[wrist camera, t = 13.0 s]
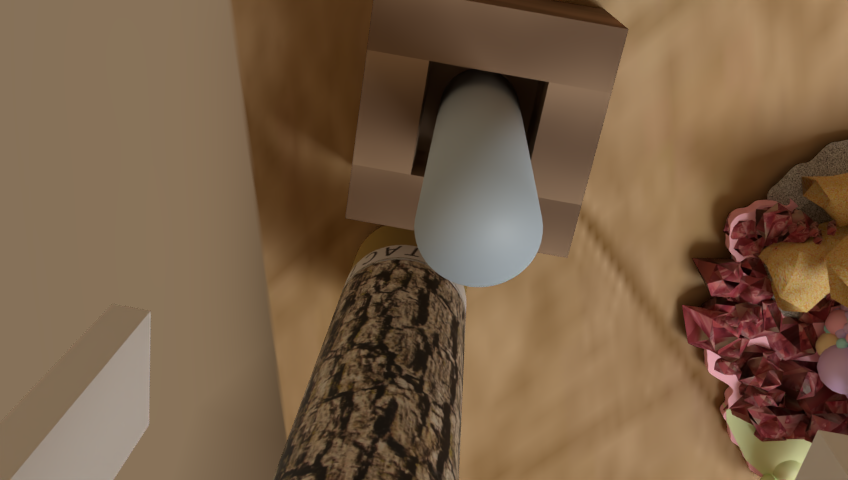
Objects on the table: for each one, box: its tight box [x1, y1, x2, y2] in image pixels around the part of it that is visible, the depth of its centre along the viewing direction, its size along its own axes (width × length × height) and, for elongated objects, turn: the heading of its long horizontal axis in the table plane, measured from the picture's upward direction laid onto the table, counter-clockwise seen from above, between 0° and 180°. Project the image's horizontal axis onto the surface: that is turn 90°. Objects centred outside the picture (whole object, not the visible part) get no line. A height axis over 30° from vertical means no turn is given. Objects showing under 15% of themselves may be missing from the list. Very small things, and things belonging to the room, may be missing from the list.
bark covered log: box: [273, 225, 467, 480], centre depth 34 cm, size 7×7×25 cm
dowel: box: [414, 69, 543, 287], centre depth 31 cm, size 4×4×16 cm
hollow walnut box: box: [345, 0, 628, 258], centre depth 38 cm, size 11×11×7 cm
